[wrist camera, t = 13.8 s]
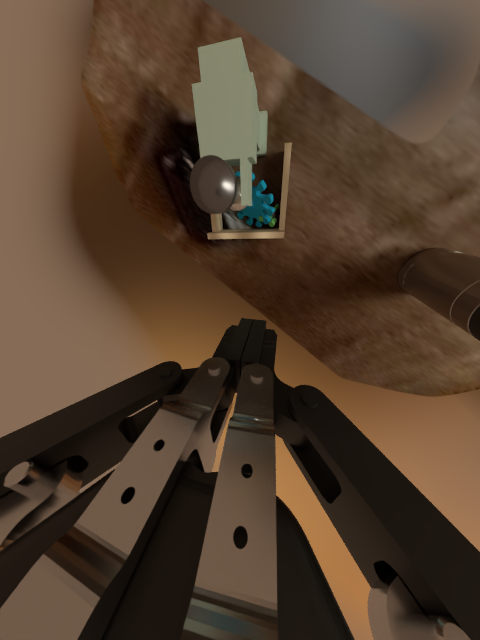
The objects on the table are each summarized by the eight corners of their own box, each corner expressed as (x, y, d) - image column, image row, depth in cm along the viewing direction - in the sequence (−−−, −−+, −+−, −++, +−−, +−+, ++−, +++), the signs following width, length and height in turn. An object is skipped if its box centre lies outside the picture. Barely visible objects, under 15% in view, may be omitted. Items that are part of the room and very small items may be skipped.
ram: (252, 174, 24) (233, 152, 15) (252, 211, 26) (235, 213, 17) (221, 176, 25) (185, 157, 16) (224, 212, 27) (194, 214, 18)
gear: (218, 201, 35) (236, 160, 26) (233, 181, 36) (256, 136, 27) (257, 240, 39) (286, 217, 30) (271, 221, 40) (302, 193, 31)
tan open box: (290, 149, 30) (292, 135, 24) (283, 233, 37) (283, 238, 31) (211, 158, 33) (196, 147, 27) (218, 234, 40) (207, 239, 34)
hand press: (267, 114, 29) (252, 24, 15) (264, 206, 35) (252, 205, 21) (232, 120, 30) (186, 41, 16) (236, 208, 37) (206, 207, 23)
